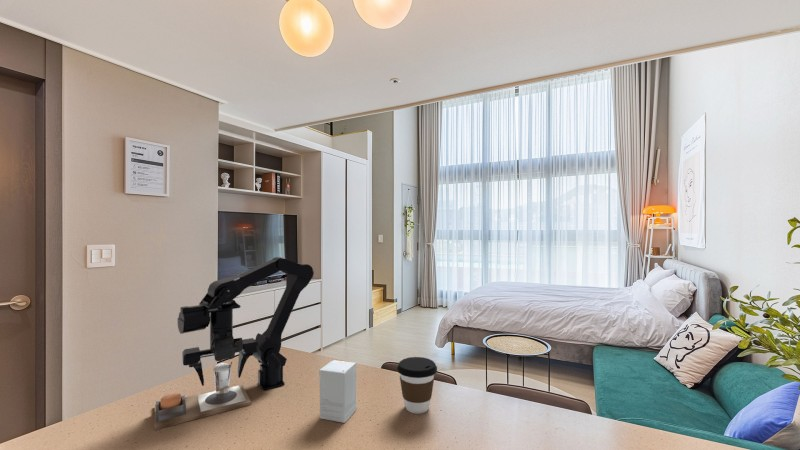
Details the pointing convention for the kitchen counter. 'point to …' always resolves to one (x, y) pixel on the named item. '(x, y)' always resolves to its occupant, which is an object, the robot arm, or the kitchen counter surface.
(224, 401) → the board
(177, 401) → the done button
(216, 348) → the robot arm
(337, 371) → the supplement box
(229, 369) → the milkshake
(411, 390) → the coffee cup
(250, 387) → the kitchen counter surface
